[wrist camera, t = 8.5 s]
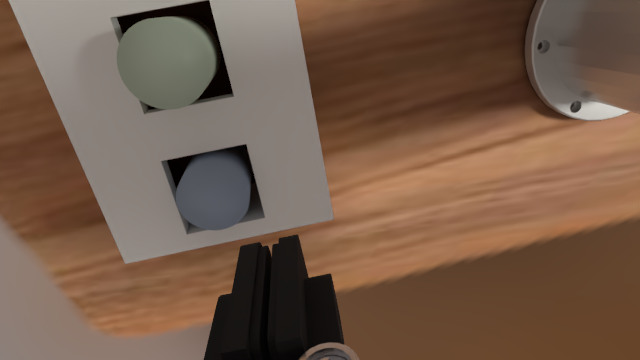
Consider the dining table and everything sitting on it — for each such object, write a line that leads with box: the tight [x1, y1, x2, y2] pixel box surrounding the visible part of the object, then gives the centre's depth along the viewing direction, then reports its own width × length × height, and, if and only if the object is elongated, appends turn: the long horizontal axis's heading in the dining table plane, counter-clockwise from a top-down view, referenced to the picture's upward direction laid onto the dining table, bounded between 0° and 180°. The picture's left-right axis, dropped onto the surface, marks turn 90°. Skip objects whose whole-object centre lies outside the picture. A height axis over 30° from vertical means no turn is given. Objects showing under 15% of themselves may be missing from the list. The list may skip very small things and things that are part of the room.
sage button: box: [117, 16, 220, 109], centre depth 21 cm, size 4×4×5 cm
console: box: [9, 0, 334, 264], centre depth 23 cm, size 13×22×6 cm, turn 9°
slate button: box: [176, 145, 252, 230], centre depth 25 cm, size 4×4×5 cm
